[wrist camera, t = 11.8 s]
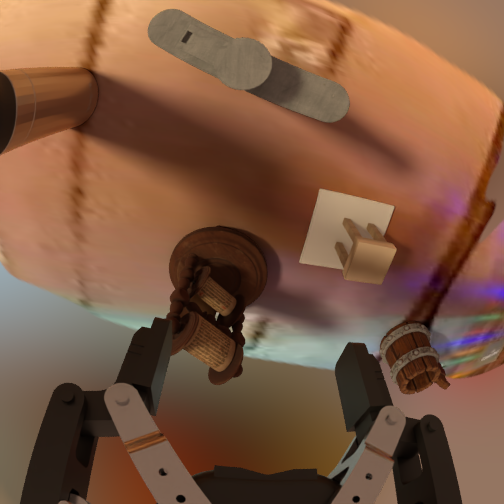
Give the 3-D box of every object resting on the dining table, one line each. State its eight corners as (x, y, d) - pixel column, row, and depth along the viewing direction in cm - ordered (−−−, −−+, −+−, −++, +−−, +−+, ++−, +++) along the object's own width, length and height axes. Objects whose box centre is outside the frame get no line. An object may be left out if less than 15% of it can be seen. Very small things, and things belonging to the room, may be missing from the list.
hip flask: (313, 93, 34) (369, 97, 16) (297, 119, 35) (339, 146, 18) (200, 39, 30) (149, -5, 13) (186, 66, 32) (121, 47, 15)
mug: (397, 312, 51) (435, 372, 39) (436, 318, 56) (469, 368, 44) (364, 352, 57) (391, 411, 45) (405, 353, 61) (432, 402, 49)
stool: (342, 215, 42) (359, 242, 35) (376, 222, 42) (396, 249, 35) (331, 248, 44) (344, 279, 38) (364, 254, 45) (381, 284, 38)
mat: (299, 261, 46) (299, 262, 46) (319, 188, 40) (320, 189, 40) (367, 272, 47) (368, 273, 47) (393, 205, 41) (394, 206, 41)
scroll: (154, 262, 46) (110, 357, 29) (219, 202, 41) (193, 291, 24) (219, 315, 52) (207, 415, 35) (286, 268, 47) (301, 373, 30)
